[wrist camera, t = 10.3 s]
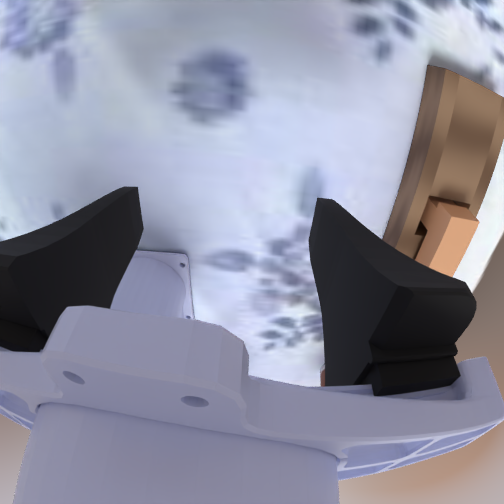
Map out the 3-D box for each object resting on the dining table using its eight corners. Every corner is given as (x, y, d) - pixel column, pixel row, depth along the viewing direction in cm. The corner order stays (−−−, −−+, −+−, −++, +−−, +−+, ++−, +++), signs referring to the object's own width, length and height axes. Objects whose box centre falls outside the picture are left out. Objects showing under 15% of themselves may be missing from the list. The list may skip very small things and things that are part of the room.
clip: (414, 271, 26) (433, 308, 22) (389, 269, 26) (406, 308, 22) (449, 189, 21) (479, 222, 17) (421, 183, 21) (451, 216, 17)
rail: (396, 332, 32) (401, 348, 30) (343, 332, 32) (347, 350, 30) (493, 94, 15) (512, 102, 13) (427, 64, 15) (445, 68, 13)
